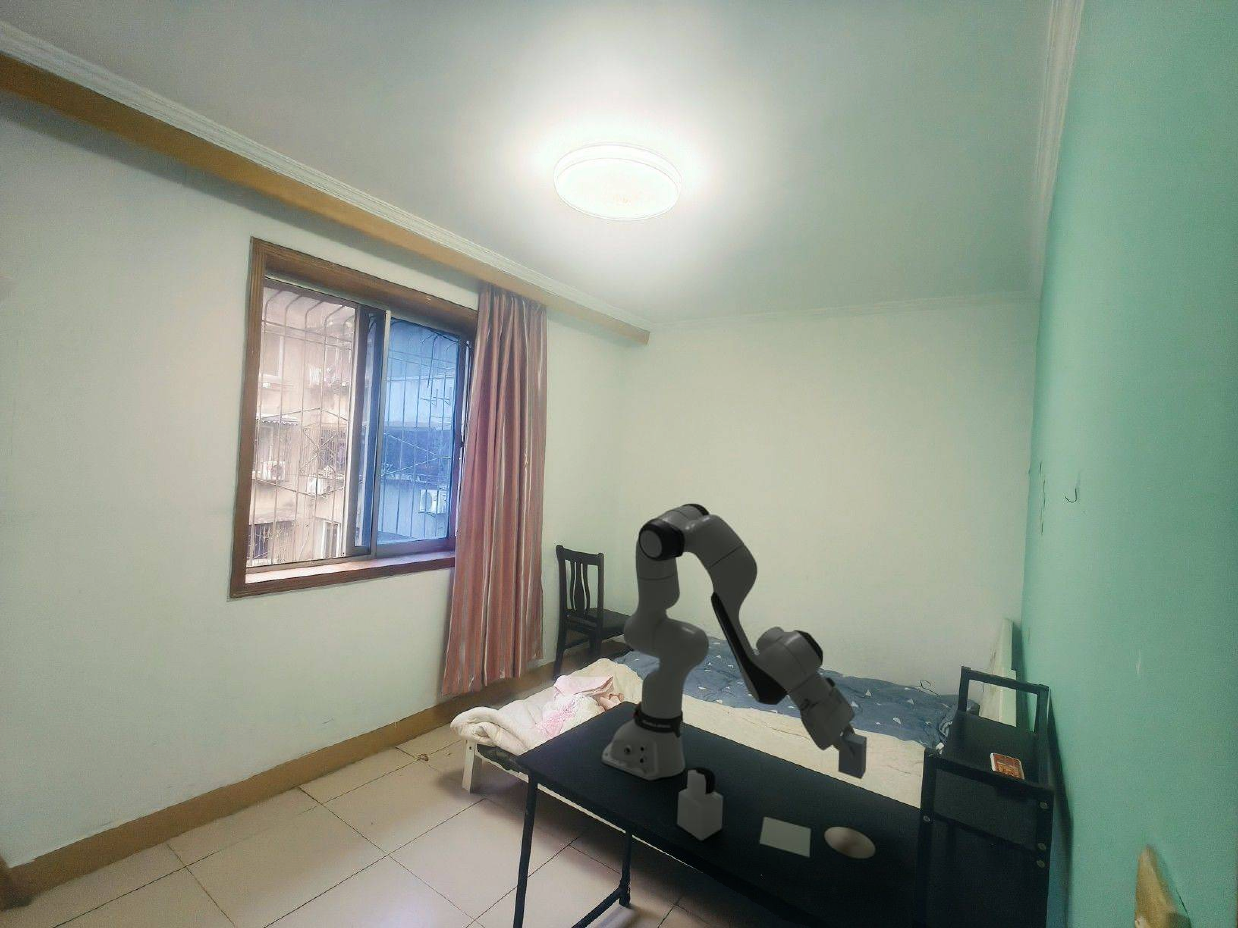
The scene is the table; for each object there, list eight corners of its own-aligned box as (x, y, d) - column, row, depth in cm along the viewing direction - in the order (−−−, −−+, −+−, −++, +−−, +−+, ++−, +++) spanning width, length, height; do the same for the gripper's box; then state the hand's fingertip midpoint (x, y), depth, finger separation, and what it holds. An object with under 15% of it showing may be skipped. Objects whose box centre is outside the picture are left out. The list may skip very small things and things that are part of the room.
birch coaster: (824, 850, 112) (824, 849, 112) (824, 823, 121) (824, 822, 121) (877, 864, 108) (877, 863, 108) (872, 835, 118) (872, 834, 118)
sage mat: (759, 843, 113) (759, 842, 113) (764, 817, 122) (764, 816, 122) (809, 857, 109) (809, 856, 109) (810, 829, 119) (810, 828, 119)
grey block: (838, 771, 115) (839, 737, 115) (843, 763, 119) (844, 730, 119) (861, 779, 112) (862, 744, 113) (865, 770, 116) (866, 736, 116)
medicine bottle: (697, 812, 123) (699, 759, 123) (722, 828, 117) (724, 773, 118) (676, 824, 118) (679, 769, 118) (701, 841, 113) (703, 783, 113)
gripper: (807, 700, 112) (855, 764, 106) (833, 675, 128) (876, 729, 122) (785, 715, 114) (831, 778, 108) (814, 689, 131) (855, 743, 125)
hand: (855, 752), depth 115 cm, fingers closed on grey block, 5 cm apart
